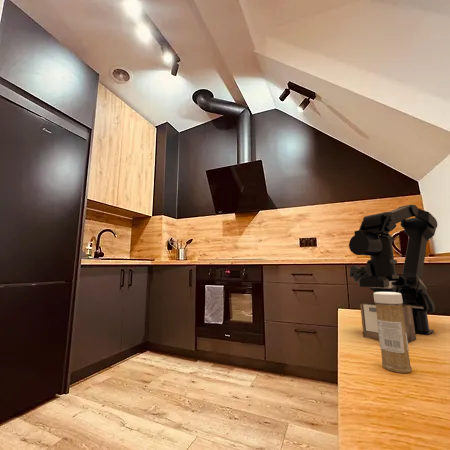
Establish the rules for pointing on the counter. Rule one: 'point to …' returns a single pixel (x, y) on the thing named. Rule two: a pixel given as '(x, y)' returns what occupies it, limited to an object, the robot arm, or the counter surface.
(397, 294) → the sprinkles bottle
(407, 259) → the robot arm
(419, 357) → the counter surface
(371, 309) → the cabinet door
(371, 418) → the counter surface
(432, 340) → the counter surface
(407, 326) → the open wooden box
